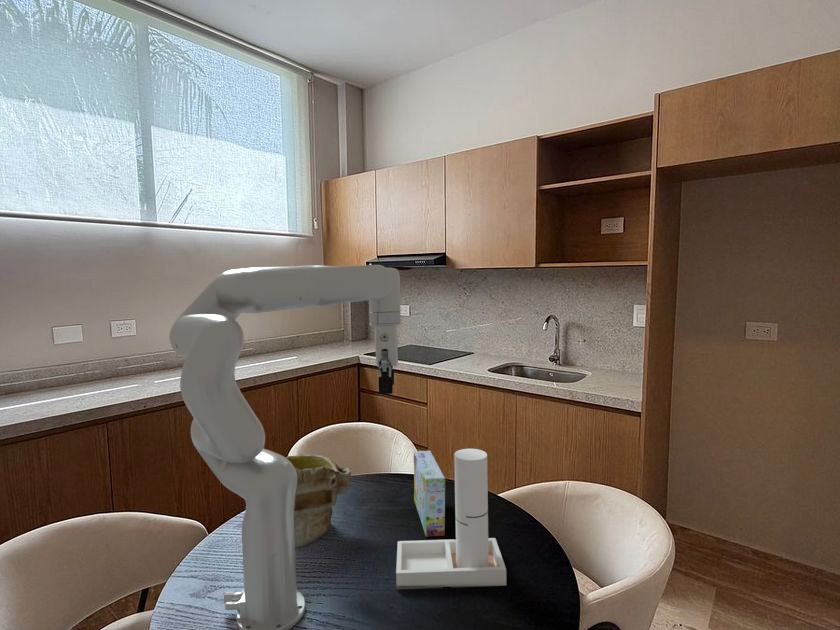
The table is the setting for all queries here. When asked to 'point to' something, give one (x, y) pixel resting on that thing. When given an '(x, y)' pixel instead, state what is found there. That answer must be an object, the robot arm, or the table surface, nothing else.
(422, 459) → the snack box
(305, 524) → the ceramic vessel
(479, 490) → the cylindrical container
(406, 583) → the two-bay tray
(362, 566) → the table surface
